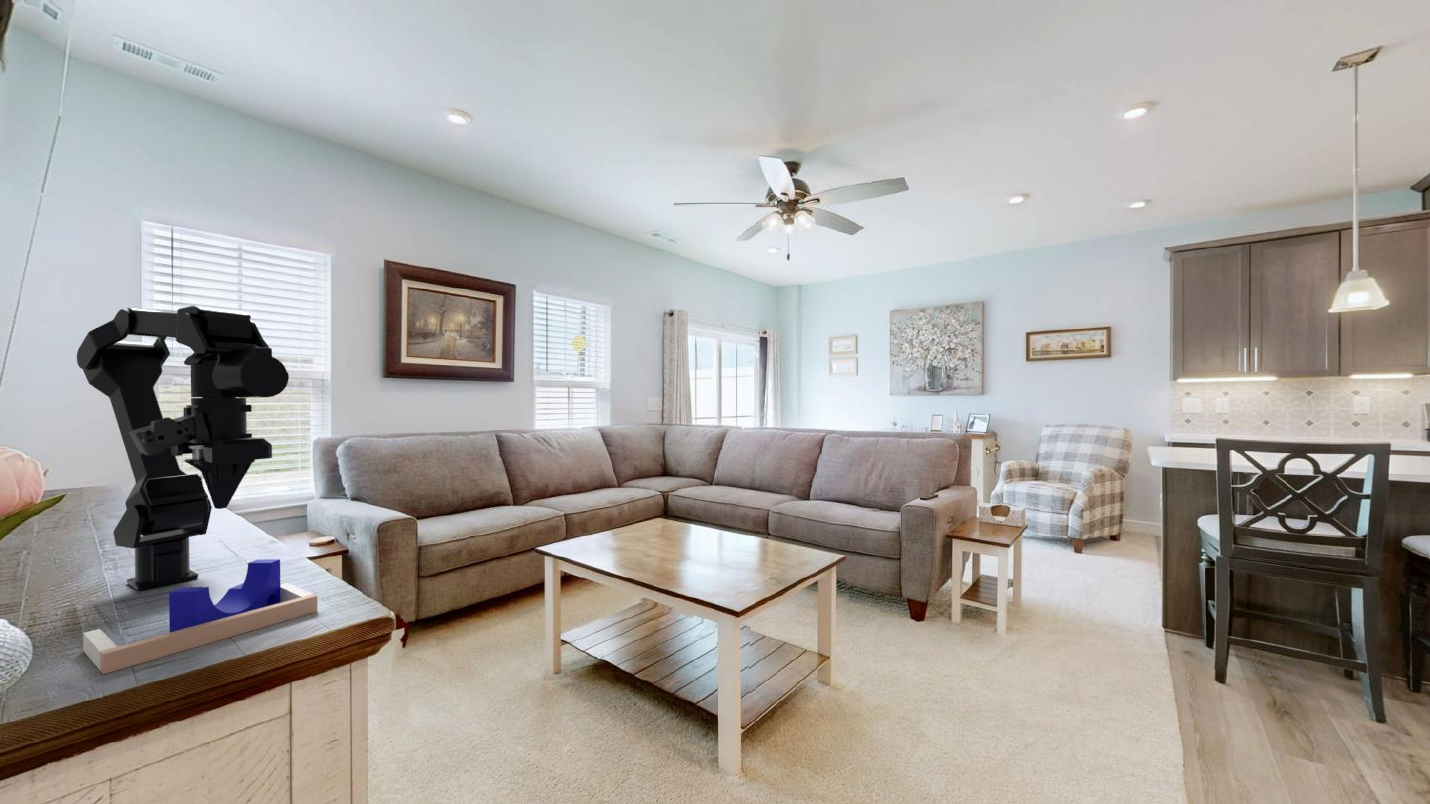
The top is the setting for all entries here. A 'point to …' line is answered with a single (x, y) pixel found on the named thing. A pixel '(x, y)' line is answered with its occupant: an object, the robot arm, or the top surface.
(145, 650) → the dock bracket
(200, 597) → the blue half clamp
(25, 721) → the top surface
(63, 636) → the top surface
